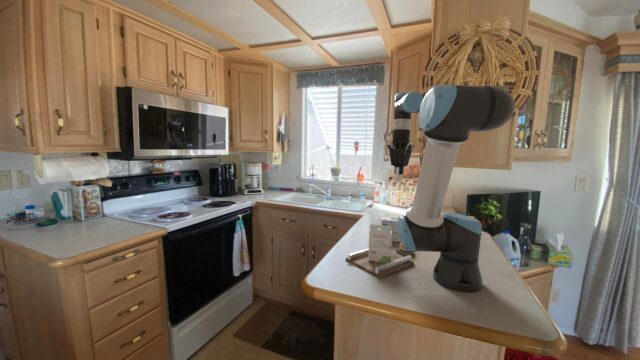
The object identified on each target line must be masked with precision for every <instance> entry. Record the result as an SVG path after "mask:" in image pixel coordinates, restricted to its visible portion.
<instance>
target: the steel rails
mask: <svg viewBox="0 0 640 360" xmlns="http://www.w3.org/2000/svg"><path fill="white" fill-rule="evenodd" d="M368 254H369V247H368V248H365V249H361V250H358V251H355V252H352V253H348V255H347V257H348V259H349V260H352V259H356V258H359V257H362V256H365V255H368ZM412 256H413V255H408V256H401V257H402V258H400V259H397V260H394V261H392V262H389V263H386V264H384V265H381V266H378V267H376V268H375V273H376V274H380V273H382V272H385V271H387V270H390V269H392V268H395V267H397V266H400V265H402V264H405V263H407V262H410V261H412Z"/></svg>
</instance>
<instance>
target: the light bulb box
mask: <svg viewBox="0 0 640 360" xmlns="http://www.w3.org/2000/svg"><path fill="white" fill-rule="evenodd" d="M398 219H399V217H391V216H390V217H387V216H385V217H384V216H380V220H379V221H380V222H379V225H382V226H391V231H392V243H393V242H396V243H401V242H400V239H399V233H398ZM379 230H384V229H382V228H379Z"/></svg>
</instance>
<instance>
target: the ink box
mask: <svg viewBox="0 0 640 360" xmlns="http://www.w3.org/2000/svg"><path fill="white" fill-rule="evenodd" d="M380 228H382V229H384V230H380ZM368 234H369V235H368V236H369V237H368V248H369V254H368V260H370V261H376V262H382V263H389V262H390V260H391V253H392V246H393V241H392V231H391V226H382V225H380V224H379V225H378V224H372V223H371V224H370V225H369V233H368Z"/></svg>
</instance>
